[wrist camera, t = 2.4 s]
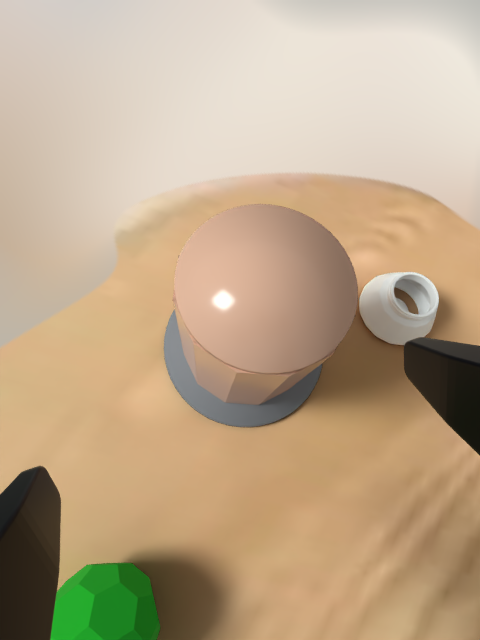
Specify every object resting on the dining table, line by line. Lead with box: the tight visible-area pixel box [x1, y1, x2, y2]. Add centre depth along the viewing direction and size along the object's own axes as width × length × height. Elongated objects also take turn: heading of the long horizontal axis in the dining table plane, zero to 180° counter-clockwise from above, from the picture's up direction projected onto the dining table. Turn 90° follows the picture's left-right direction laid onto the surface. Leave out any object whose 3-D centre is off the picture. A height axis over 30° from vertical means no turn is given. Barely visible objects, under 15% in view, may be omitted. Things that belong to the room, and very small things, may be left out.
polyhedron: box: [50, 563, 160, 640], centre depth 16 cm, size 5×5×5 cm
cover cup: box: [173, 204, 358, 405], centre depth 19 cm, size 7×7×9 cm
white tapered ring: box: [359, 272, 439, 345], centre depth 24 cm, size 5×3×5 cm
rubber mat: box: [164, 309, 322, 427], centre depth 24 cm, size 10×10×1 cm
